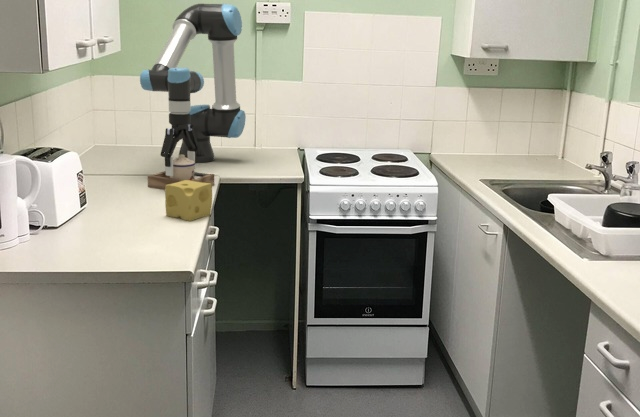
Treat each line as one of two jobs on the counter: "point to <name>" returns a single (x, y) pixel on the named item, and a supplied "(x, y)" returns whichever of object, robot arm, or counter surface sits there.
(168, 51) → the robot arm
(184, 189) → the cheese
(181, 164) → the teacup with lid
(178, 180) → the wooden tray
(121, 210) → the counter surface
